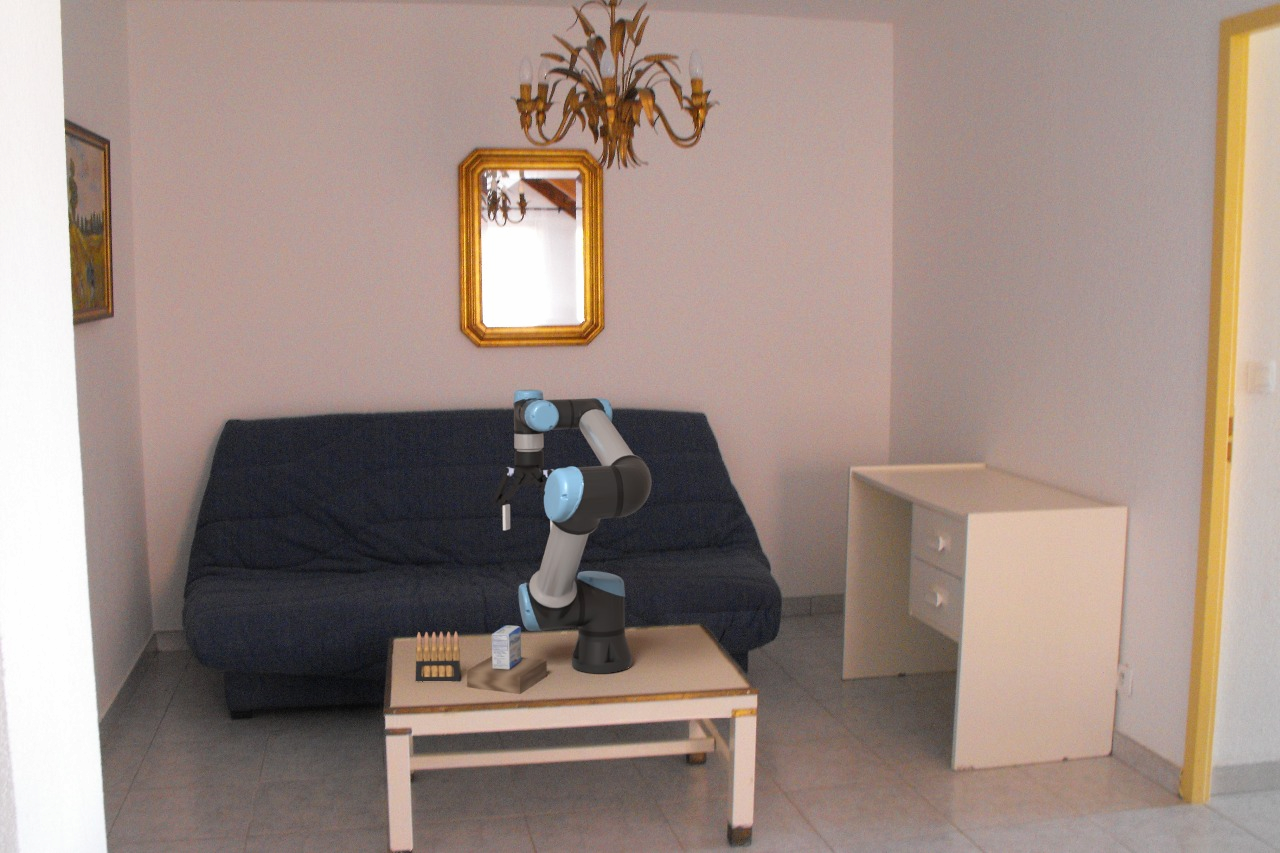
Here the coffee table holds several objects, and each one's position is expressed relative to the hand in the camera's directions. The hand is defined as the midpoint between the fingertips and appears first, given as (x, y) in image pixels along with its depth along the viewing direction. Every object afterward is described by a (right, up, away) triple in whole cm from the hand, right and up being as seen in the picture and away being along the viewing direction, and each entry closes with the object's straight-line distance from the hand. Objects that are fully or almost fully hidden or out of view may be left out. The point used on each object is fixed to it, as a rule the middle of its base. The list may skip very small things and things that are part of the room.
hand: (530, 531), depth 291 cm
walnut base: (-3, -34, -22) cm, 41 cm away
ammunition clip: (-20, -34, -21) cm, 45 cm away
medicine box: (-3, -30, -23) cm, 38 cm away
